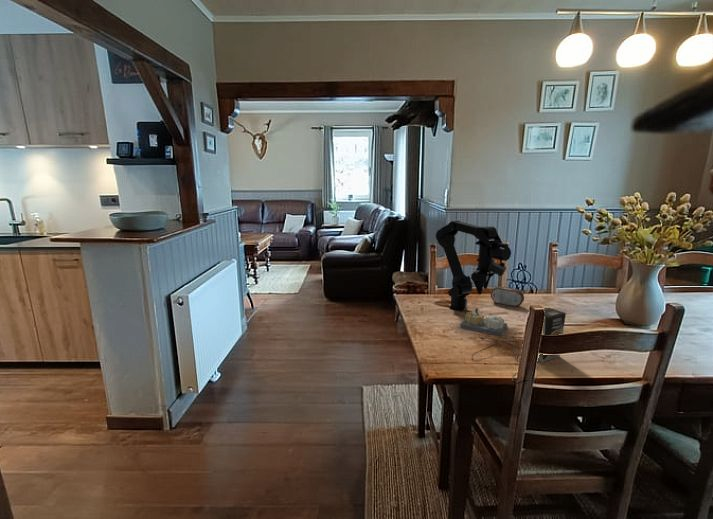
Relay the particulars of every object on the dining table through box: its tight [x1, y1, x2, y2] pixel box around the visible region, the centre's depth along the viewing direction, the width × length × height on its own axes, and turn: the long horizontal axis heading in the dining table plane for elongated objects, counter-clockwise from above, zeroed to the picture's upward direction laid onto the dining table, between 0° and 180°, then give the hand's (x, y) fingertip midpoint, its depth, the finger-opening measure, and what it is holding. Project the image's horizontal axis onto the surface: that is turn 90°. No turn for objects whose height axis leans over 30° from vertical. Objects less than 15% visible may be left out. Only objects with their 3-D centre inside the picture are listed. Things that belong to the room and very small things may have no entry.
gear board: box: [460, 307, 508, 337], centre depth 152 cm, size 16×11×6 cm
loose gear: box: [484, 315, 505, 329], centre depth 150 cm, size 7×7×3 cm
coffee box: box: [538, 307, 567, 363], centre depth 127 cm, size 9×6×16 cm
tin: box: [490, 285, 525, 307], centre depth 179 cm, size 15×3×8 cm, turn 58°
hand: (482, 291), depth 160 cm, fingers open, 9 cm apart
